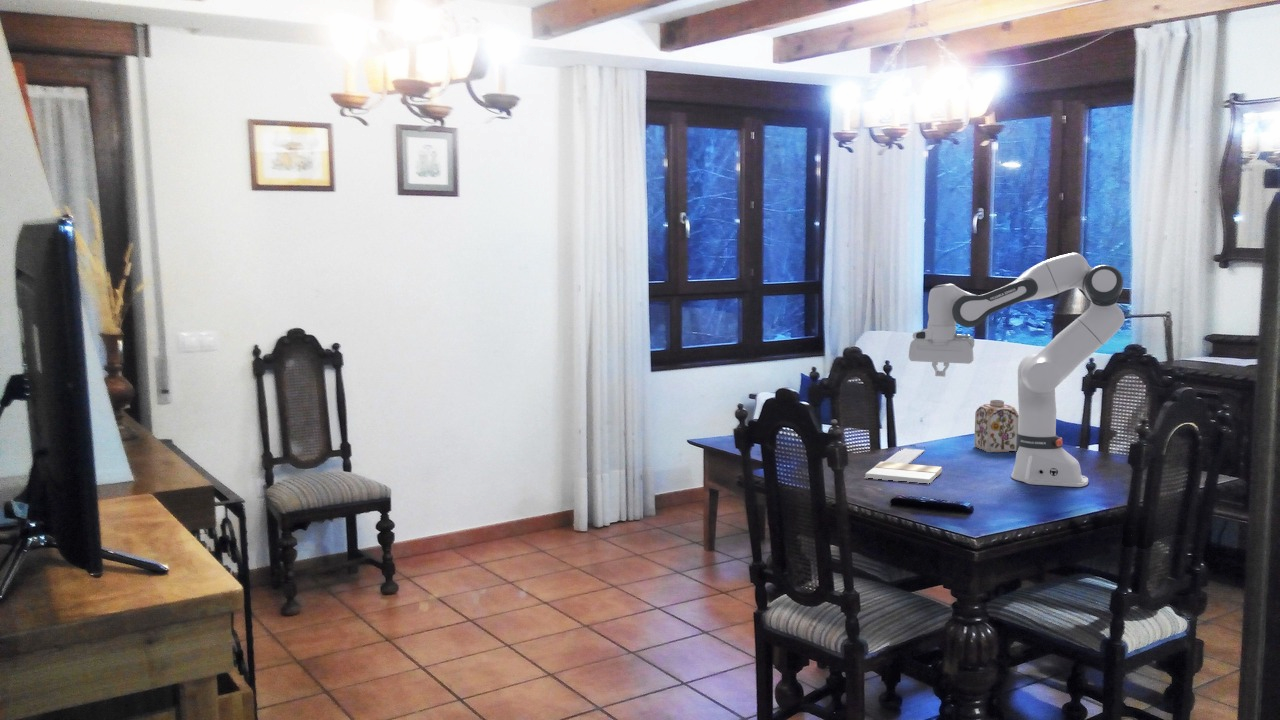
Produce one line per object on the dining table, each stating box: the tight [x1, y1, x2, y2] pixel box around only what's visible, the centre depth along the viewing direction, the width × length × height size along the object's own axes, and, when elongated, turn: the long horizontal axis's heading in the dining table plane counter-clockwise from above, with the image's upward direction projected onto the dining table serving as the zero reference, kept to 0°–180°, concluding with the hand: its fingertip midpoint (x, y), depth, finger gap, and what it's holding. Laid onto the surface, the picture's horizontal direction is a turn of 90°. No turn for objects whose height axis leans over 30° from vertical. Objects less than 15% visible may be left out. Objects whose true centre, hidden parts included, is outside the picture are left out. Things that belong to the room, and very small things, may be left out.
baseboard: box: [883, 444, 926, 464], centre depth 359 cm, size 30×3×10 cm
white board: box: [864, 467, 937, 485], centre depth 328 cm, size 20×10×2 cm, turn 62°
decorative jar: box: [973, 399, 1019, 453], centre depth 373 cm, size 12×12×18 cm
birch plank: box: [873, 461, 943, 477], centre depth 336 cm, size 20×8×2 cm, turn 62°
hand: (940, 376), depth 336 cm, fingers closed
